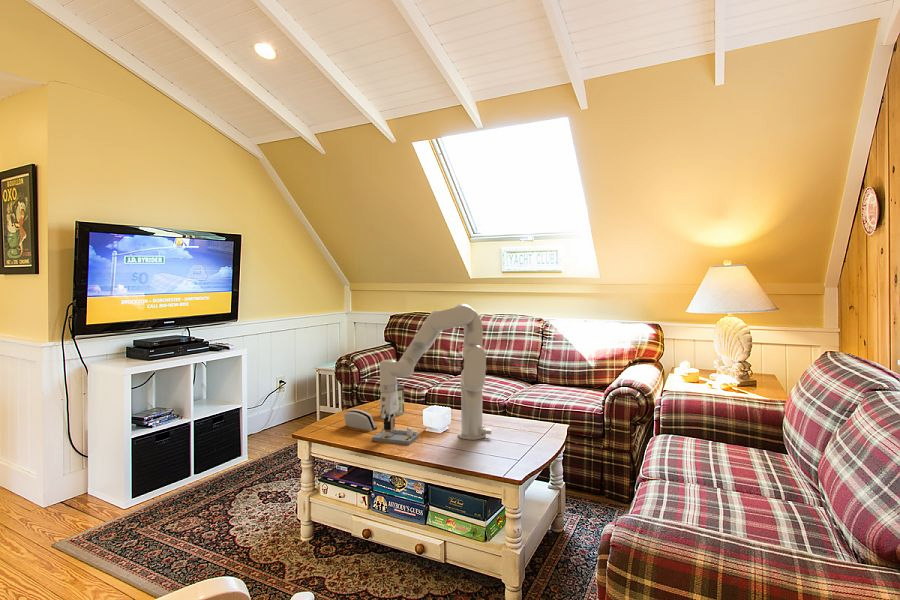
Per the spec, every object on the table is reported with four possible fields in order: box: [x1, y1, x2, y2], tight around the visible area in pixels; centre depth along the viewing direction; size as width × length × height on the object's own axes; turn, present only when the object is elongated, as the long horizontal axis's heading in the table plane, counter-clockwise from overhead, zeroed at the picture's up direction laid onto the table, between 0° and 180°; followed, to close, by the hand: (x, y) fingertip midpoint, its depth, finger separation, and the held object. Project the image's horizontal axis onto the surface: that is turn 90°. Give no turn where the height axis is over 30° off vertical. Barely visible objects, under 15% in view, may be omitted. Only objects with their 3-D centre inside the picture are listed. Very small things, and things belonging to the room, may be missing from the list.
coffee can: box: [385, 384, 405, 417], centre depth 263 cm, size 10×10×14 cm
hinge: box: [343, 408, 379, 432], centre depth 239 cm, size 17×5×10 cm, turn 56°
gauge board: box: [371, 427, 419, 446], centre depth 221 cm, size 18×10×6 cm, turn 70°
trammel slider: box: [382, 416, 397, 438], centre depth 221 cm, size 4×9×8 cm, turn 160°
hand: (389, 428), depth 222 cm, fingers closed on trammel slider, 3 cm apart
